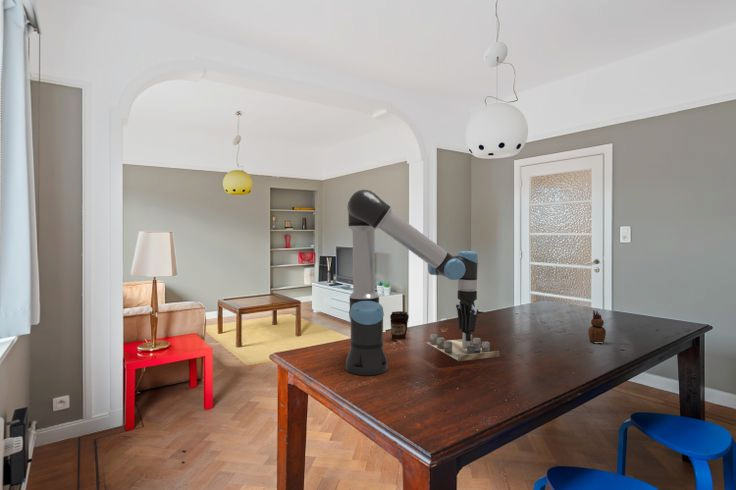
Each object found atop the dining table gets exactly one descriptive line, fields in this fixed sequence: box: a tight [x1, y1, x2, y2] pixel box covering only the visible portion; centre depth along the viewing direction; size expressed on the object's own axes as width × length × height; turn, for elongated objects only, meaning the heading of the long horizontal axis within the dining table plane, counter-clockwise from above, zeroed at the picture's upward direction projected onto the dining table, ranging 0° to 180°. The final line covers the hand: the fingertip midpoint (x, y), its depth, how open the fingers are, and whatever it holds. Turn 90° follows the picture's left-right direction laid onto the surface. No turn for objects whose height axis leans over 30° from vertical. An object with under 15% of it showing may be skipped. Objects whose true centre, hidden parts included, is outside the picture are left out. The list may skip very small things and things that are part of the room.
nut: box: [467, 346, 481, 354], centre depth 157 cm, size 6×5×3 cm
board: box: [426, 333, 500, 362], centre depth 165 cm, size 18×26×6 cm
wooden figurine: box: [587, 309, 607, 343], centre depth 182 cm, size 7×6×15 cm
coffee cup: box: [389, 310, 409, 343], centre depth 182 cm, size 9×8×13 cm
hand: (466, 348), depth 162 cm, fingers closed
